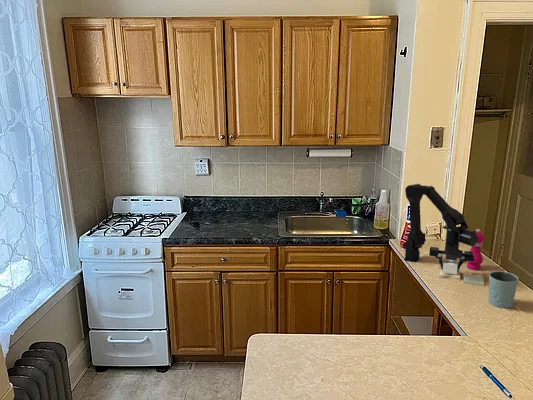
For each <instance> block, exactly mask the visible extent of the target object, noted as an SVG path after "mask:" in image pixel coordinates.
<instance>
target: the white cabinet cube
mask: <svg viewBox="0 0 533 400" xmlns="http://www.w3.org/2000/svg"><path fill="white" fill-rule="evenodd" d="M458 261H459V260H456V261H453V260H446V259H445V258H443V273H449V274H456V275H457V267H458Z"/></svg>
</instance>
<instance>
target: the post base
mask: <svg viewBox="0 0 533 400" xmlns="http://www.w3.org/2000/svg"><path fill="white" fill-rule="evenodd" d="M438 278H440V279H448V280H455V281H461V269H459V271H458V272H457V275H456V274H449V273H443V270H442V269H441V266H439V268H438Z"/></svg>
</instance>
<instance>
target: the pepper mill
mask: <svg viewBox="0 0 533 400" xmlns="http://www.w3.org/2000/svg"><path fill="white" fill-rule="evenodd" d="M475 231H476V233H475V234H477V237H478V241H477V243H476V245H474V246H470V250H469V251H471V252H473V253H474V261H467V262H466V266H465V267H466V268H467V269H468V270H472V271H479V270H481V269H482V264H483V262H484V258H483V254H482V251H481V248H482V246H483V242H484V240H485V235H484V234H483V233H482V232H481V230H480V228H477V229H475Z"/></svg>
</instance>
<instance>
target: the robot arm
mask: <svg viewBox="0 0 533 400" xmlns="http://www.w3.org/2000/svg"><path fill="white" fill-rule="evenodd" d="M404 189H405V190H404V192H405V197H406V200H407V201H408V202H409V220H410V221H409V225H410V230H409V232H408V234H407V238H406V241H405V242H403V244H402V249H404V250H405V251H404V252H405V253H404V254H405V255H404V261H407V262H414V263H418V262H419V261H420V255H421V251H420V249H422V247H423V245H425V243H426V242H427V239H426V232H423V231H422V229H421V227H422V226H421V224H422V223H421V222H422V221H421V220H422V219H421V201H422V199H423V197H424V196H426V198H427V199H429V201H430V202H431V204H433V205H434V207H435V208H436V209H437V210H438V211H439V212H440V214H441V217H442V220H443V221H444V223H445V225H444V226H442V229H444V230H446V234H445V243H444V244H445V245H444V250H441V249H440V247H438V246H437V247H436V246H430V248H429V253H428V254H429V255H428V256H429V257H435V259H437V260H438V262H439V265H440V267H441V269H442V270H443V260H444V259H446V260H453V261H458V267H457V272H458V271H459V270H461V269H460V268H461V267H462V265H463V264H464V263H468V262H467V261H474V253H473V252H471V251H470V250H462V249H460V248H459V247H460V243H461V244H464V245H467V246H470V247H471V246H474V245H476V243H477V241H478V237H477V234H475V233H476V230H472V229H469V226H468V224H467V222H466V220H465V217H464V215H463V213H462V212H460V211H459V210H457V209H455V208H453V207H452V206H450V204H448V202H447V201H446V200H445V199H444V198H443V197H442V196H441V195H440V193H439V192H437V190H436V188H435V187H434V186H432V185H421V184H420V183H414V184H409V185H407V186H406V187H405V188H404ZM463 251H464V252H463ZM443 256H445V258H443Z"/></svg>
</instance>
